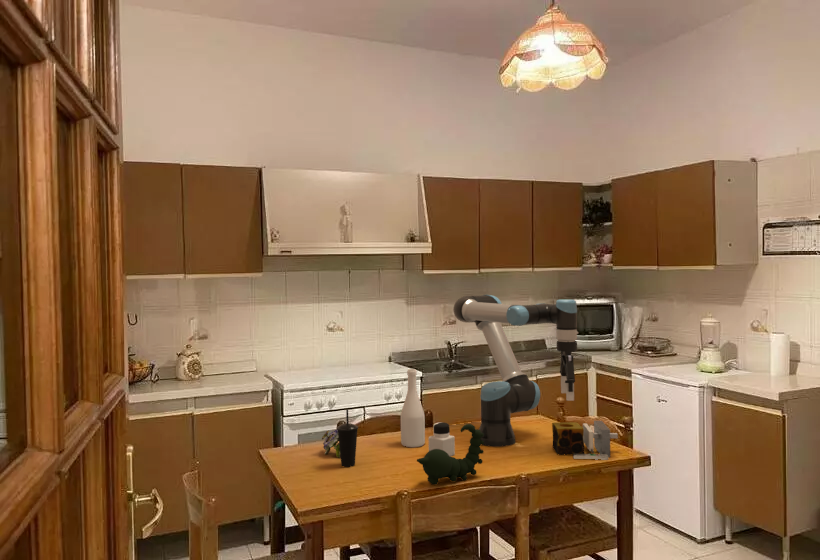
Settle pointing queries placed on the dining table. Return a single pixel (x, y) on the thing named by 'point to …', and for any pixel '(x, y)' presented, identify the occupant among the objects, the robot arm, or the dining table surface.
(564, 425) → the black and yellow cube
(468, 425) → the toy figurine
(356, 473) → the dining table surface
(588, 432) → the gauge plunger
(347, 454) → the drinking cup
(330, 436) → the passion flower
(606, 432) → the grey open frame block
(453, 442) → the medicine bottle
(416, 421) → the wine bottle
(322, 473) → the dining table surface
